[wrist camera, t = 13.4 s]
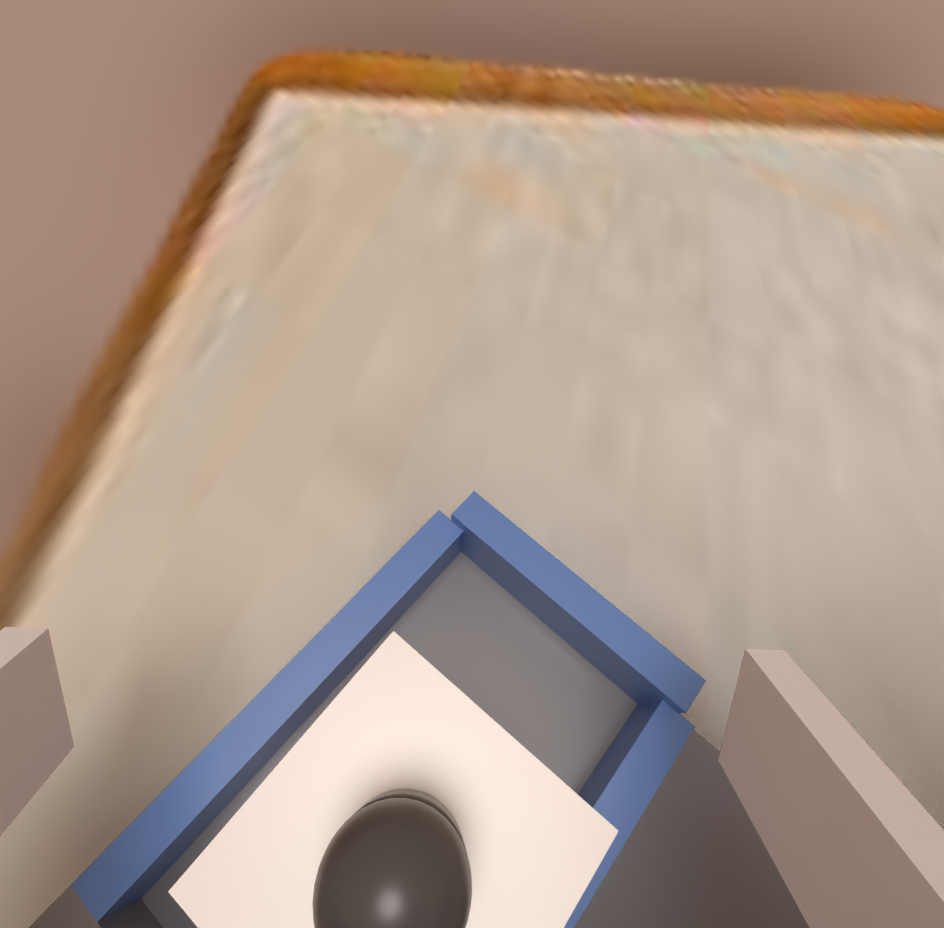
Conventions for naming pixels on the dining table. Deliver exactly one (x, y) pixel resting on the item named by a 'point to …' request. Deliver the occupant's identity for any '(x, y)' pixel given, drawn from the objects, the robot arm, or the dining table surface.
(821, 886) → the robot arm
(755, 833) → the gray divided tray
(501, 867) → the cream block with knob
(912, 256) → the dining table surface
